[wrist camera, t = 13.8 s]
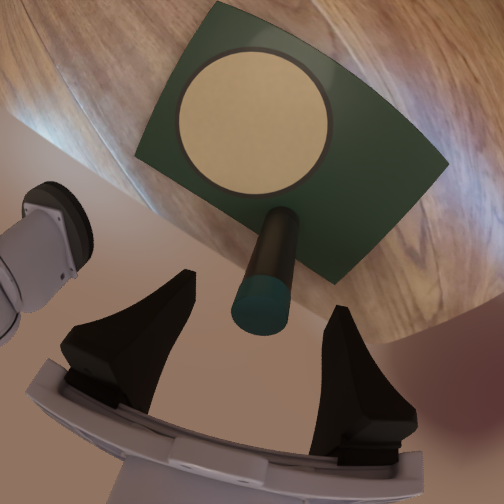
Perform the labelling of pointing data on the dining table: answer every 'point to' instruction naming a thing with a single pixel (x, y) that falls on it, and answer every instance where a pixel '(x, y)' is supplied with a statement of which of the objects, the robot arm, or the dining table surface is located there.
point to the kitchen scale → (287, 140)
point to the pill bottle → (269, 276)
